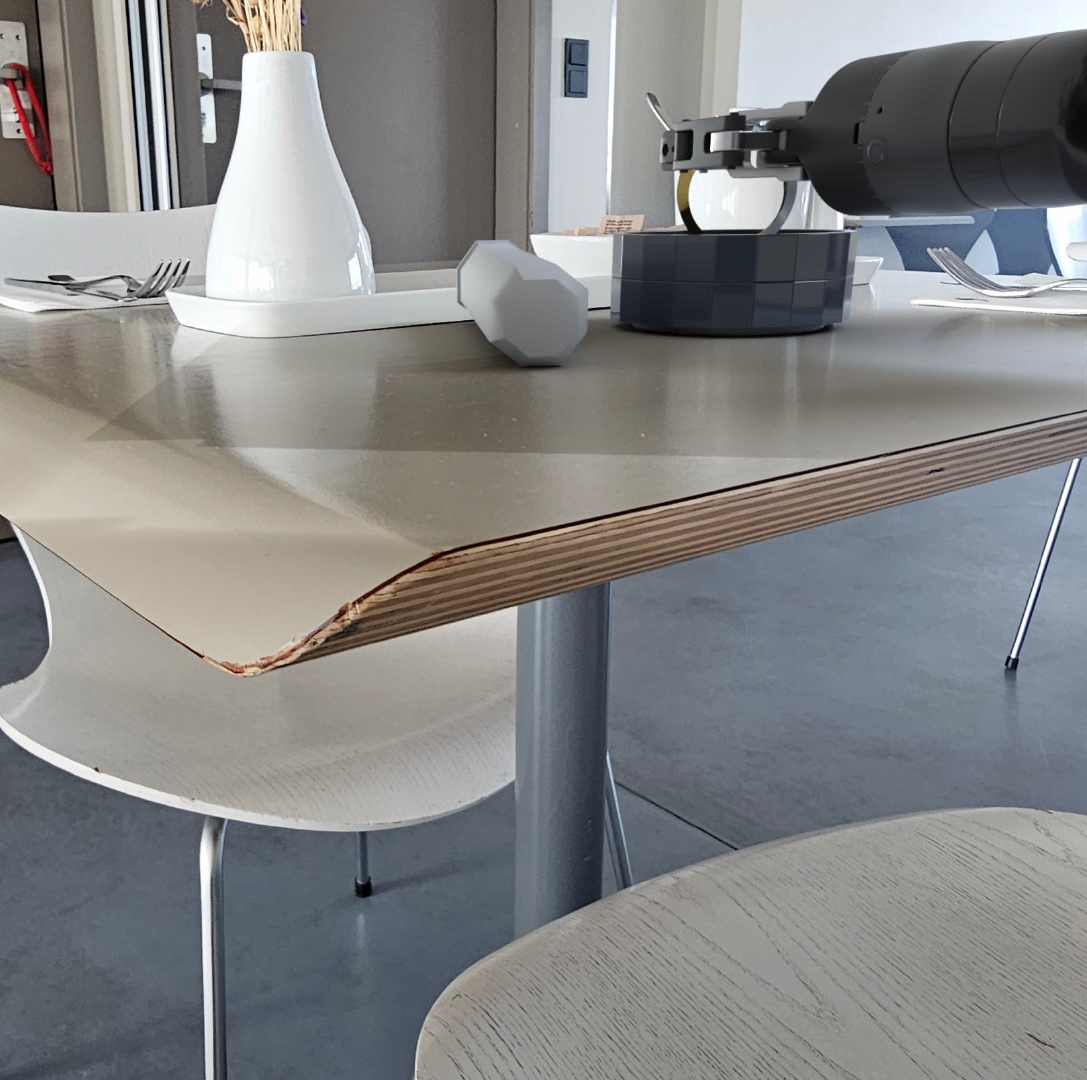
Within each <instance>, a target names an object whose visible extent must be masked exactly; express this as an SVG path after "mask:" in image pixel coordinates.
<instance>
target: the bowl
mask: <svg viewBox="0 0 1087 1080" xmlns="http://www.w3.org/2000/svg"><path fill="white" fill-rule="evenodd" d="M765 229H766V228H713V229H710V228H709V229H706V228H705V229H701V230H702V231H704V232H705V233H706V234H707V235H691V234H690V233H689V231H688V230H687V229H667V230H665V229H664V230H663V229H662V230H661V229H660V230H635V231H634V230H633V231H632V230H630V231H616V232H614V233H612V251H611V252H612V254H611V256H612V257H611V280H610V281H611V283H610V284H611V285H610V287H611V288H610V309H609V310H610V312H609V315H610V316H609V318H610V319H611V320H614V321H616V322H619V323H625V324H631V327H632V328H635V329H637V330H642V331H647V332H654V333H663V334H675V335H692V336H693V335H695V336H739V337H740V336H773V335H774V336H775V335H776V336H777V335H791V334H803V333H810V332H815V331H819V330H822V329H824V328H825V326H828V325H834V324H840V323H843V322H847V321H848V320H850V314H851V305H852V298H853V297H852V295H853V287H854V277H855V267H856V260H857V259H856V258H857V250H858V249H857V248H858V241H859V231H858V230H856V229H855V230H854V229H837V228H835V229H834V228H833V229H832V228H780V230H779V231H778V232H777V233H776V234H759V233H761V232H762V231H763V230H765Z"/></svg>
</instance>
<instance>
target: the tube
mask: <svg viewBox="0 0 1087 1080" xmlns="http://www.w3.org/2000/svg"><path fill="white" fill-rule="evenodd" d="M456 303H457V304H458V305H460V306H461V307H462V308H464V309H465V310H466V311H467V312H468V313H469V315H470V316H471V317H472V319H473V320H474V322H475V323H476V325H477V326H478V327H479V329H480V330H481V332H482V333H483V334H484V336H485V337H486V339H487V341H488V342H489V343H490V344H491V345H493V346H494V347H495V348H497V349H499V350H500V351H501V352H502V353H504V354H505V355H506V356H508V357H509V358H510V359H511V360H513V361H514V362H516V363H517V364H518V365H520V366H521V367H555V366H563V365H564V364H565V362H566V361H567V360H568V358H569V357H570V356H571V354H572V353H573V352H574V350H575V349H576V348H577V346H578V345H579V344H580V343H581V341H582V340H583V338H584V337H585V335H586V334H587V333H588V316H589V289H588V288H587V287H586V286H585V285H584V284H582V283H581V282H580V281H579V280H577V279H575V277H573V276H572V275H571V274H570V273H568V272H567V271H566V270H564V269H563V268H562V267H561V266H560V265H558V264H556V263H555V262H552V261H550V260H547V259H544V258H542V257H540V256H538V255H535V254H533V253H530V252H528V251H525V250H523V249H521V248H519V247H518V246H517V245H516V244H515V243H513V242H512V241H510V240H509V239H493V240H492V239H491V240H483V239H481V240H475V241H474V242H473V244H472V245H471V247H470V248H469V249H468V251H467V253H466V254H465V255H464V257H463V258H462V260H461V261H460V263H459V264H458V265H457V267H456Z"/></svg>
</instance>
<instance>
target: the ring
mask: <svg viewBox="0 0 1087 1080" xmlns="http://www.w3.org/2000/svg"><path fill="white" fill-rule="evenodd" d="M718 116H723V114H720V115H716V117H718ZM769 121H770V120H769ZM767 122H768V121H765V124H766V123H767ZM765 124H764V123H762V121H759V122H757V123H756V124H755V126H754V127H753V131H761V129H762V127H763V126H764V125H765ZM777 167H786V166H777ZM695 173H696V171H693V170H688V173H679V176H678V180H677V186H676V203H677V208H678V212H679V215H680V218H681V221H682V223H683V225H684V227H685V229H686V230H688V231H689V233H690V234H691V235H707V234H706V233H705V232H704V231H702V230H703V229H701V227H700V226H699V225H698V223H697V222H696V220H695V218H694V216H693V213H692V210H691V206H690V197H689V194H690V186H691V182H692V179H693V177H694V175H695ZM797 193H798V182H782V197H781V202H780V206H779V209H778V211H777V212H776V215H775V217H774V218H773V219H772V221H771V222H770V223H769V225H767V226H766V228H764V229H765V230H763V231H762V232H761V233H759V234H776V233H777V232H778V231H779V230H780V229H782V228H783V226H784V225H785V223H786V221H787V220H788V218H789V217H790V214H791V213H792V210H793V209H794V204H795V202H796V197H797Z"/></svg>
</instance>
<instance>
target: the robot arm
mask: <svg viewBox="0 0 1087 1080" xmlns="http://www.w3.org/2000/svg"><path fill="white" fill-rule="evenodd" d="M717 116H718V117H717ZM717 116H713V117H706V118H699V119H691V118H686V119H685V118H684V119H681V121H678V122H677V121H676V122H674V129H668V130H665V131H664V132H663V134H662V136H661V137H660V139H659V162H658V163H659V164H660V168H661V170H662V171H663V172H678V173H679V174H680V173H688V170H693V171H695V172H697V171H698V174H708V173H709V171H724V170H725V171H726V172H728V175H729V176H730V177H731V178H732V179H769V178H770V179H771V178H776V179H777V180H778V181H780V182H781V183H783V182H797V183H799V182H810V183H811V186H812V187H813V189H814V190H815V192H816V194H817V195H818V196H819V198H820V199H821V201H823V202H824V204H825V205H827V206H828V207H829V208H831V209H832V210H834V211H836V212H838V213H840V214H843V215H846V216H851V217H852V216H853V217H888V216H889V217H890V216H891V217H892V216H895V217H896V216H898V217H900V216H901V217H904V216H905V217H906V216H908V217H909V216H956V215H964V214H965V215H966V214H970V213H974V212H975V213H976V212H980V211H986V210H1014V209H1015V210H1016V209H1020V210H1021V209H1023V210H1024V209H1030V210H1031V209H1055V208H1067V207H1075V206H1076V207H1077V206H1083V205H1085V206H1086V205H1087V28H1081V29H1073V30H1066V31H1065V30H1064V31H1056V32H1051V33H1050V32H1049V33H1044V34H1038V35H1032V36H1026V37H1021V38H1020V37H1019V38H1012V39H1009V40H1008V39H1007V40H1005V39H1004V40H966V41H957V42H951V43H945V44H940V45H934V46H928V47H922V48H915V49H909V50H903V51H897V52H891V53H886V54H885V53H884V54H879V55H873V56H867V57H862V58H858V59H856V60H853V61H851V62H849V63H847V64H845V65H843V66H842V67H841V68H839V69H838V70H837V71H836V72H834V74H832V75H831V76H830V78H828V80H827V81H826V82H825V83H824V85H823V86H822V87H821V89H820V90H819V92H818V94H817V95H816V98H815V99H814V100H801V101H800V100H798V101H788V102H785V103H783V105H782V106H781V107H775V108H773V107H772V108H759V109H746V110H744V109H743V110H737V111H730V112H729V113H728V114H726V115H722V116H720V115H717ZM769 120H770V121H769ZM759 121H761V122H765V124H764V126H763V127H762V129H761V131H753V127H754V126H755V124H756V123H757V122H759ZM766 121H768V122H767V123H766ZM752 152H756V155H755V157H756V158H755V165H756V167H755V166H754V165H753V164H752V160H751V159H752ZM777 166H786V167H777Z"/></svg>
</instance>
